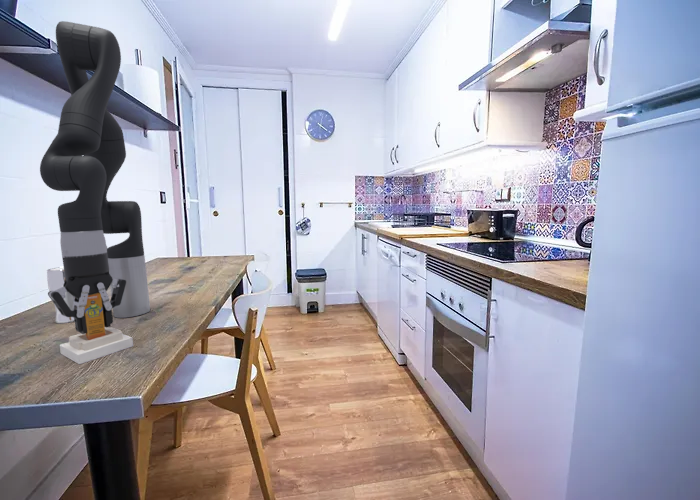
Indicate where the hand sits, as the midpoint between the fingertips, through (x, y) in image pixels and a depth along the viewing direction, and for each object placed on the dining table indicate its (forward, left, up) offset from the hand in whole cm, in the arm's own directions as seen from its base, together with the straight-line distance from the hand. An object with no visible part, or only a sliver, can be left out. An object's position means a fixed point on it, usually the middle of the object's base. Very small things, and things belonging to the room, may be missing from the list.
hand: (95, 329), depth 72 cm
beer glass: (-32, +5, -5) cm, 33 cm away
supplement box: (0, 0, -2) cm, 2 cm away
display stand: (0, 0, -5) cm, 5 cm away
